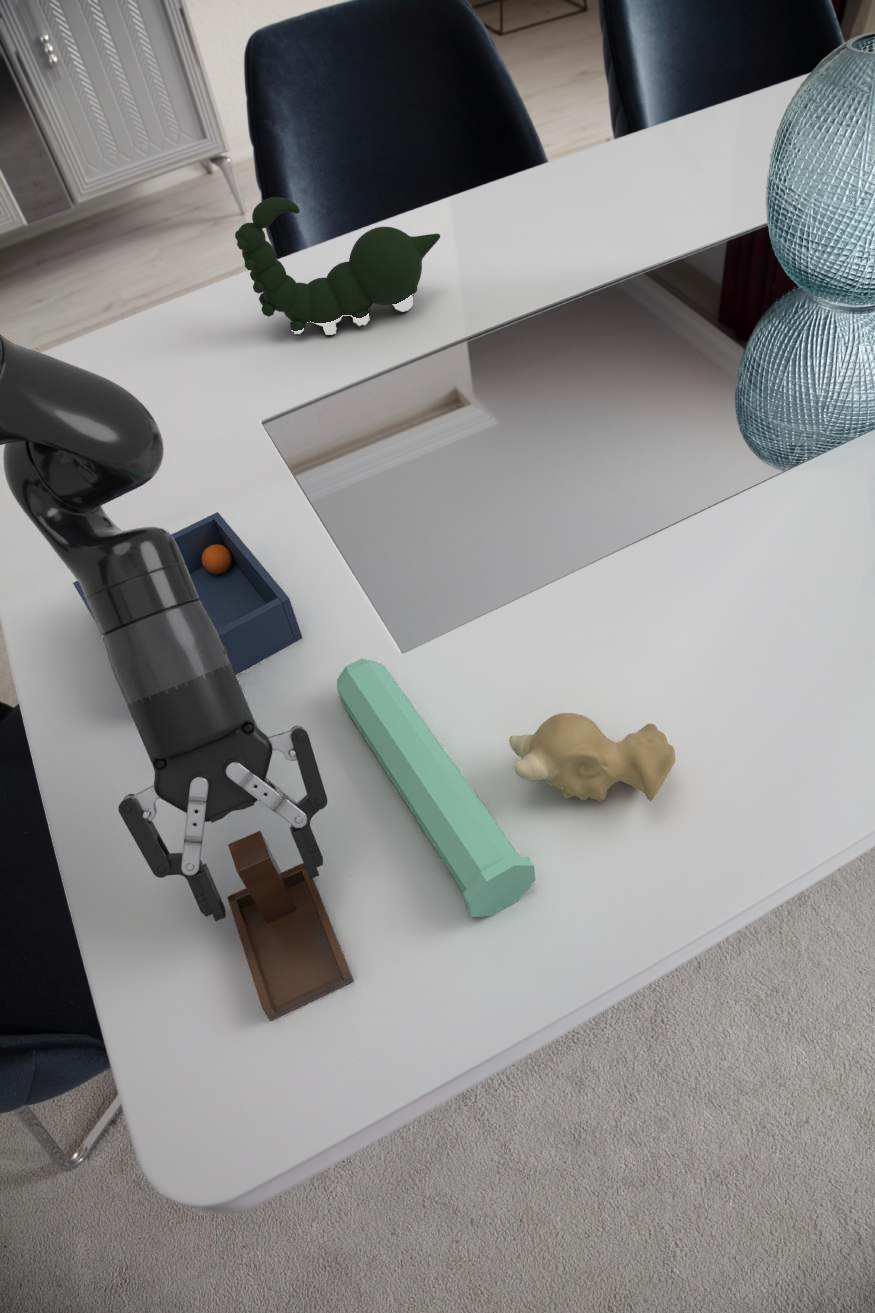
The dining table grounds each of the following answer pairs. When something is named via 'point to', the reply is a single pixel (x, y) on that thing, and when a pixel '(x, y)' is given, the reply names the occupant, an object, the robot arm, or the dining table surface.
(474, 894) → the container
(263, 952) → the scoop
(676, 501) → the dining table surface
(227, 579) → the tote
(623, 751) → the tan toy creature
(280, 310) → the toy figurine
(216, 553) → the toy ball
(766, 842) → the dining table surface
